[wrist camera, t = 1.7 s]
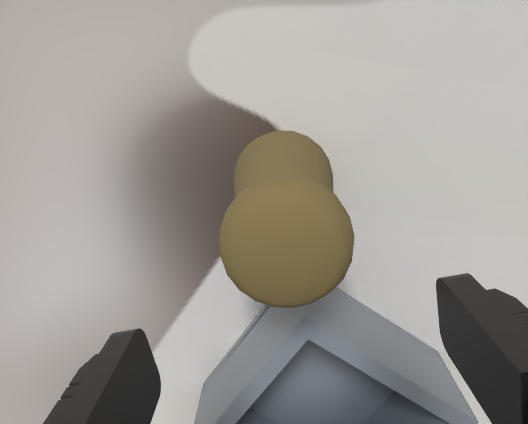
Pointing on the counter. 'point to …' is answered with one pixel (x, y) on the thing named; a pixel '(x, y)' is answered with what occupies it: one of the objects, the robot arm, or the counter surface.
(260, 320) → the crate
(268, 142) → the cork
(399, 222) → the counter surface
